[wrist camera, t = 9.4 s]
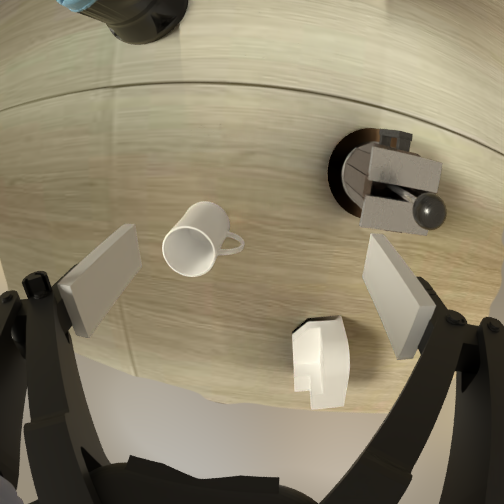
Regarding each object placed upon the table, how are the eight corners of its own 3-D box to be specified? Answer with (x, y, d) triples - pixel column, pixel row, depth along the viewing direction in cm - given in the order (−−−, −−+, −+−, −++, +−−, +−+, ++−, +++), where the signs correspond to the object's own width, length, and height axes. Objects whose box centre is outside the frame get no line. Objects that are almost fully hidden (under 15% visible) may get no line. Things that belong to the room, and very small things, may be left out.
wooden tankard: (346, 122, 42) (371, 123, 30) (409, 136, 41) (448, 143, 29) (336, 202, 48) (355, 230, 36) (396, 211, 47) (429, 240, 35)
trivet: (332, 120, 42) (333, 120, 42) (418, 138, 42) (419, 138, 41) (321, 212, 49) (322, 213, 49) (403, 223, 49) (404, 224, 48)
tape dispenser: (336, 365, 65) (343, 406, 54) (293, 369, 66) (294, 410, 55) (340, 314, 58) (351, 357, 47) (291, 319, 60) (293, 362, 48)
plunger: (358, 151, 42) (416, 176, 23) (398, 159, 42) (470, 189, 23) (352, 194, 45) (401, 246, 26) (391, 200, 45) (453, 253, 26)
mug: (252, 211, 50) (245, 237, 39) (242, 254, 54) (233, 289, 43) (187, 196, 50) (163, 218, 39) (181, 239, 54) (158, 270, 43)
